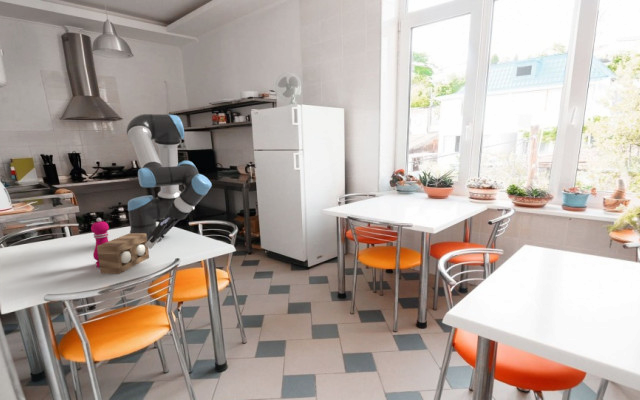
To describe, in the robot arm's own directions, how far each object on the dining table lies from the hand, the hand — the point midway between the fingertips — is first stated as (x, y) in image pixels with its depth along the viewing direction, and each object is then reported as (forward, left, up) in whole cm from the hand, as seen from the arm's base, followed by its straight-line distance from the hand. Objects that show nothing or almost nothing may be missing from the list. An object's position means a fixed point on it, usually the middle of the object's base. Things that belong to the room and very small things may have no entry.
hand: (148, 246), depth 135 cm
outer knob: (+6, -10, -4) cm, 12 cm away
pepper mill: (-1, -18, -7) cm, 19 cm away
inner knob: (-3, -7, -4) cm, 9 cm away
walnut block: (+2, -9, -7) cm, 11 cm away
